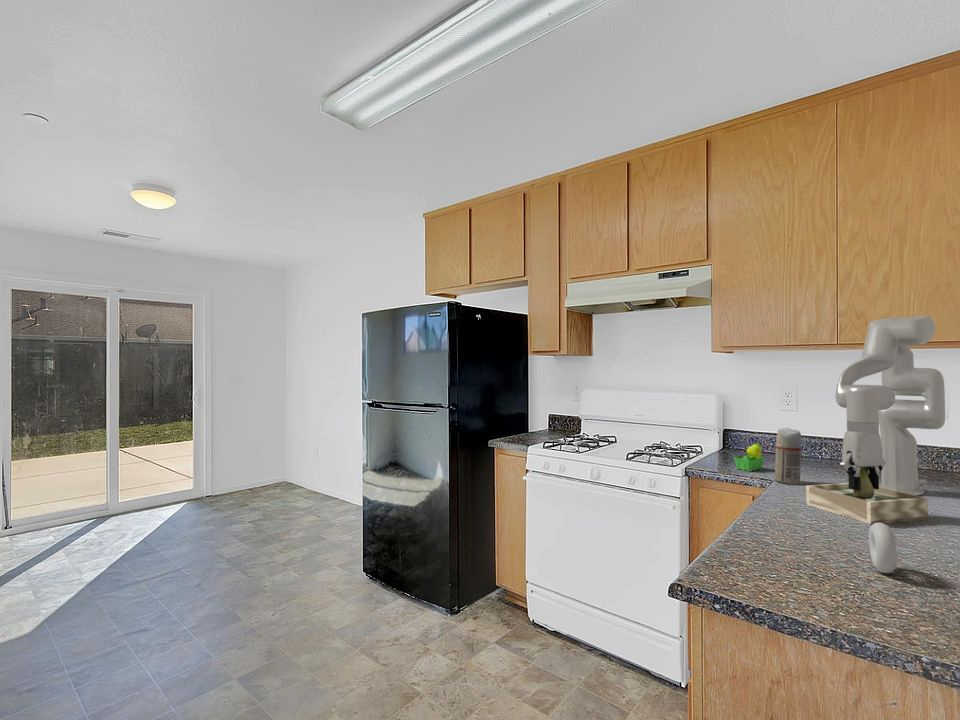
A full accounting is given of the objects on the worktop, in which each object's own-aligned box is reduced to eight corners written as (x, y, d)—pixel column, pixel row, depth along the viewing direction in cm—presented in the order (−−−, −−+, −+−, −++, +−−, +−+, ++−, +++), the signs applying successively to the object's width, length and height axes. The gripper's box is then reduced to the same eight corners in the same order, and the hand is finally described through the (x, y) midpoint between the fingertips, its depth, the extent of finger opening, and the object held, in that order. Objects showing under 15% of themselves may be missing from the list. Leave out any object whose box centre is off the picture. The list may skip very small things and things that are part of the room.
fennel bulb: (864, 496, 147) (864, 456, 148) (880, 500, 142) (879, 459, 143) (847, 496, 146) (847, 456, 147) (862, 501, 142) (862, 459, 142)
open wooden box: (858, 501, 156) (858, 482, 156) (928, 519, 137) (927, 498, 137) (806, 505, 152) (806, 485, 152) (870, 524, 132) (870, 502, 133)
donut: (867, 561, 107) (866, 515, 107) (887, 564, 105) (886, 518, 106) (877, 578, 98) (876, 528, 99) (899, 582, 97) (899, 531, 97)
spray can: (798, 480, 185) (797, 427, 186) (804, 485, 177) (803, 430, 178) (772, 479, 188) (771, 427, 188) (777, 483, 180) (777, 429, 180)
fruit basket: (748, 466, 213) (747, 440, 213) (768, 470, 205) (768, 443, 205) (732, 469, 207) (732, 442, 207) (753, 473, 199) (753, 445, 199)
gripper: (873, 425, 150) (874, 484, 150) (827, 427, 147) (828, 487, 146) (898, 428, 143) (900, 490, 143) (851, 430, 139) (852, 493, 139)
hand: (863, 488), depth 144 cm, fingers closed on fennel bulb, 5 cm apart
